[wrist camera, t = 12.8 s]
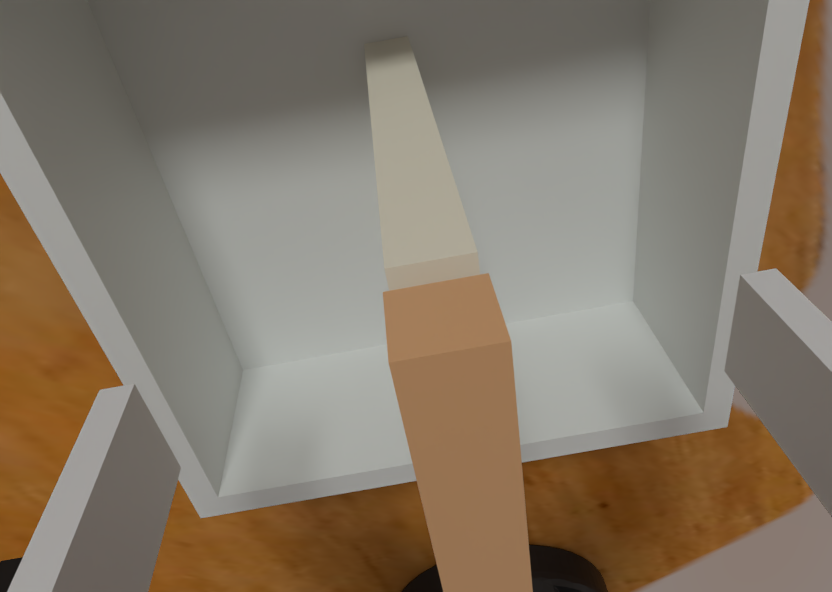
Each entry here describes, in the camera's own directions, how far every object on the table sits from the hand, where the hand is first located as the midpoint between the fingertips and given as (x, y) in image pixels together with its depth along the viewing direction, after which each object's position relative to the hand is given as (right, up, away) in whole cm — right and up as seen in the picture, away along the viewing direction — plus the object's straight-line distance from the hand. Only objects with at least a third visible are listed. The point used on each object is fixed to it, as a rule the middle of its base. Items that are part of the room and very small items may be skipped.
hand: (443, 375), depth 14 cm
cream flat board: (-1, +7, +10) cm, 12 cm away
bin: (-1, +8, +10) cm, 13 cm away
